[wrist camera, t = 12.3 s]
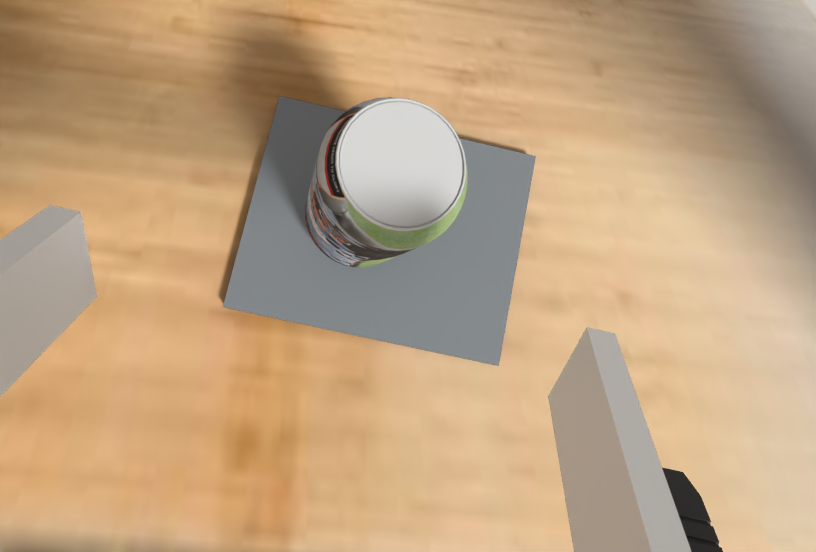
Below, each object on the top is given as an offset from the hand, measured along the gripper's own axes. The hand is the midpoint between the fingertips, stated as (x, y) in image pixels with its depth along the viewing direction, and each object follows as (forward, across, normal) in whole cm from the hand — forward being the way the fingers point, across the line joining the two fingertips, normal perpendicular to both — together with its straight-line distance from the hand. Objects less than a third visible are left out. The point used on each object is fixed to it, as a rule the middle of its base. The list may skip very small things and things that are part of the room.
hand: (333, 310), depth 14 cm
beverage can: (+16, 0, -7) cm, 17 cm away
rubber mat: (+16, +1, -7) cm, 18 cm away
